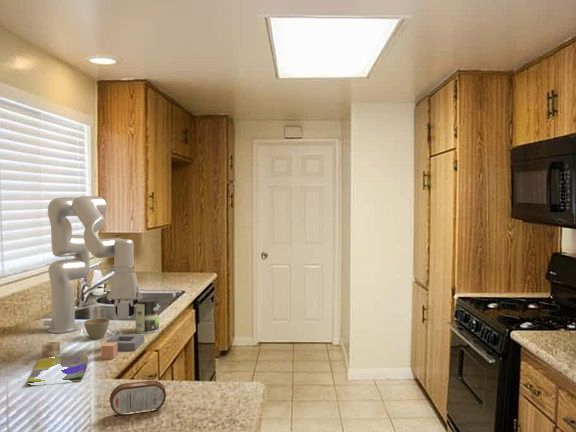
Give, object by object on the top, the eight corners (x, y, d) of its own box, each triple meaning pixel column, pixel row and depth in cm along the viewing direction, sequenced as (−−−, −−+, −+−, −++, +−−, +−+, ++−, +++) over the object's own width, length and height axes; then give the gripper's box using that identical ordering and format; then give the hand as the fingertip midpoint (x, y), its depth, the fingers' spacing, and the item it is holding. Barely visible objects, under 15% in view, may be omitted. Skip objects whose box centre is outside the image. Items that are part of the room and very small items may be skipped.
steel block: (117, 318, 199) (117, 303, 199) (121, 315, 204) (121, 301, 203) (128, 318, 199) (128, 303, 199) (132, 315, 204) (132, 301, 203)
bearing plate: (104, 350, 196) (104, 342, 196) (115, 341, 208) (115, 334, 208) (134, 350, 196) (134, 343, 196) (144, 341, 208) (144, 334, 208)
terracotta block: (101, 359, 186) (101, 345, 186) (105, 355, 190) (105, 342, 190) (113, 359, 186) (113, 345, 186) (117, 355, 190) (117, 342, 190)
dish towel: (23, 389, 158) (23, 380, 158) (37, 364, 181) (37, 357, 181) (83, 383, 163) (83, 374, 163) (89, 360, 186) (89, 352, 186)
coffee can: (161, 327, 231) (161, 297, 231) (155, 333, 221) (155, 301, 220) (139, 327, 231) (139, 297, 231) (132, 333, 221) (131, 301, 220)
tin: (165, 406, 144) (165, 377, 144) (166, 410, 141) (166, 381, 141) (109, 414, 138) (109, 384, 138) (110, 419, 136) (109, 388, 135)
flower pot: (79, 338, 212) (79, 322, 212) (98, 333, 221) (97, 317, 221) (95, 342, 208) (95, 324, 207) (114, 336, 216) (114, 319, 216)
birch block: (42, 358, 186) (42, 345, 186) (48, 355, 191) (47, 341, 190) (54, 358, 186) (54, 345, 186) (59, 355, 191) (59, 342, 190)
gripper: (99, 271, 197) (100, 317, 198) (142, 271, 197) (143, 317, 198) (106, 269, 205) (107, 313, 205) (148, 268, 205) (148, 313, 205)
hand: (125, 315), depth 201 cm, fingers closed on steel block, 4 cm apart
